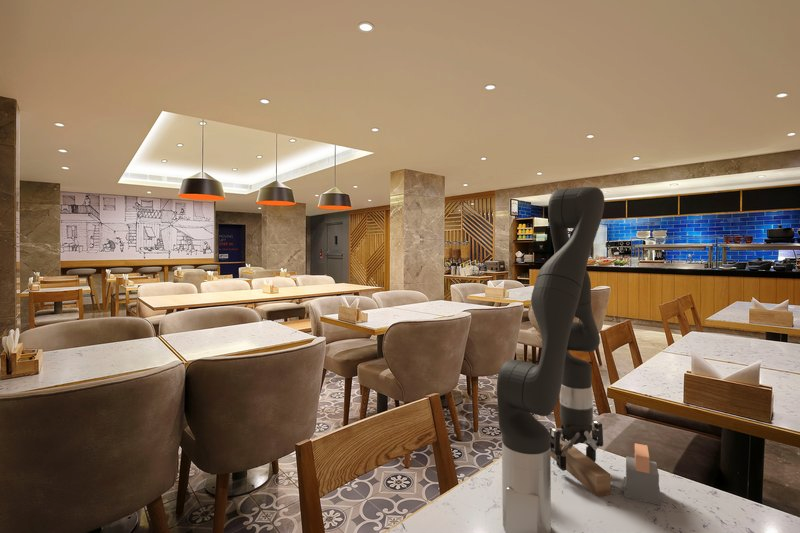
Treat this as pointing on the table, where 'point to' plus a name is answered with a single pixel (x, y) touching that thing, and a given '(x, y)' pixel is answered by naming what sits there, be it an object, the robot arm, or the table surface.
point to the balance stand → (642, 477)
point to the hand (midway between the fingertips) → (576, 466)
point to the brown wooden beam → (587, 472)
